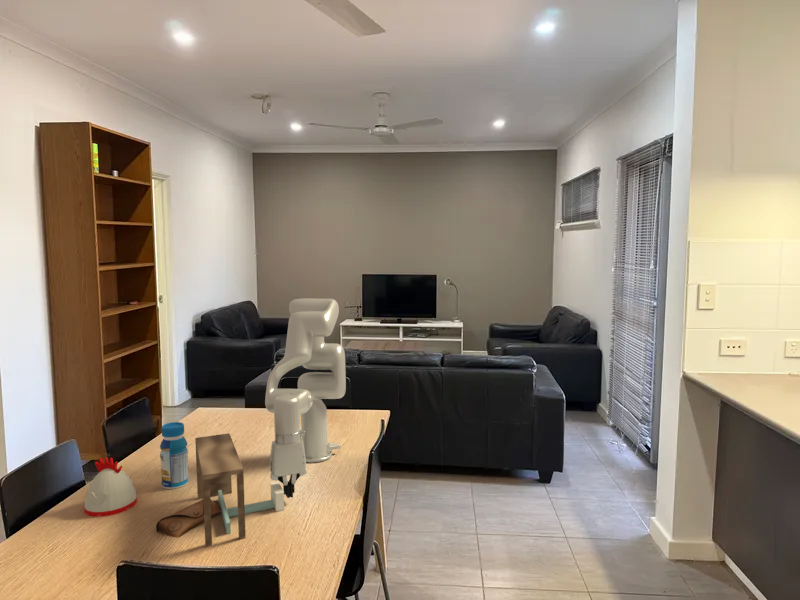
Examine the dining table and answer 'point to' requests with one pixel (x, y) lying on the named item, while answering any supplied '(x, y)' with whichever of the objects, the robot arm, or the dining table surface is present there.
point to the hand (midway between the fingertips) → (289, 495)
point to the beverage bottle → (174, 456)
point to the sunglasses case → (186, 519)
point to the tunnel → (218, 477)
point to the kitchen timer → (109, 491)
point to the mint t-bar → (253, 505)
